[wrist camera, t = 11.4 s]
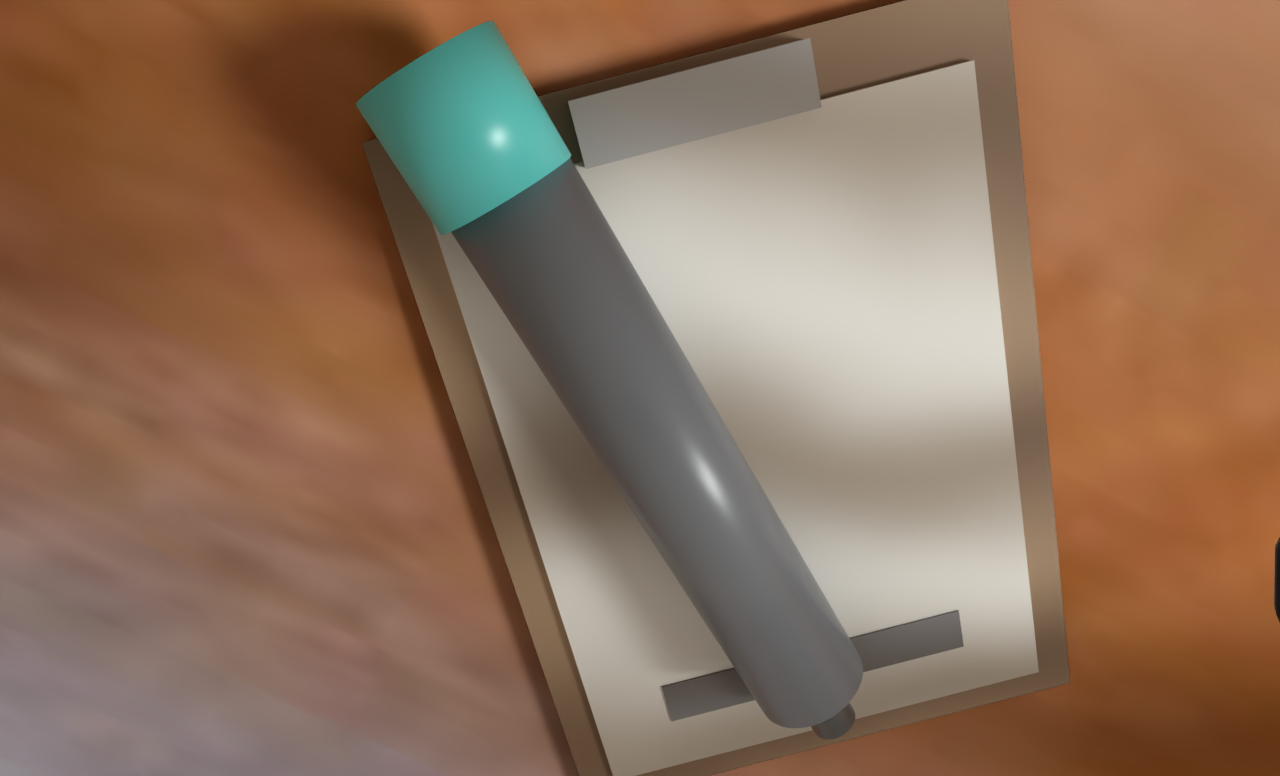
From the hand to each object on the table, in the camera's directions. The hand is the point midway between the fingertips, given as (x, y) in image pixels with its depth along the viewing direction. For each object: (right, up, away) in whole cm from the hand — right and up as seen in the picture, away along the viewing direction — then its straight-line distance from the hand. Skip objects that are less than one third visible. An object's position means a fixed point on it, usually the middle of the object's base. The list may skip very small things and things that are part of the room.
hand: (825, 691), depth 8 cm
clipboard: (+1, +2, +10) cm, 11 cm away
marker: (-1, +2, +9) cm, 10 cm away
